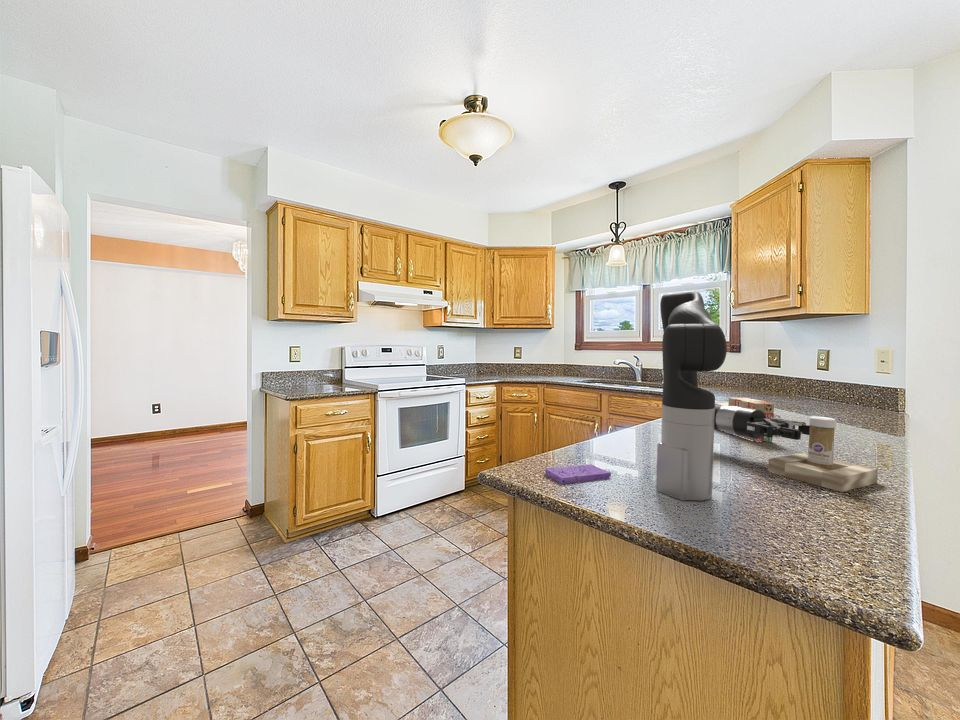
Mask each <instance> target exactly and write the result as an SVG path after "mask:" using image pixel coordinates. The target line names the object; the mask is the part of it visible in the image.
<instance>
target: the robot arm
mask: <svg viewBox="0 0 960 720" xmlns="http://www.w3.org/2000/svg"><path fill="white" fill-rule="evenodd" d="M660 317H661V324H662V330H663V335H662V342H661V343H662V345H661V346H662V349H661V350H662V374H663V375H662V377H663V378H662V379H663V380H662V401H661V402H662V403H661V429H660V433H661V434H660V436H661V437H660V442H659V443H657V448H656V476H655V477H656V481H655V482H656V484H655V487H656V488H655V490H656V491H658V492H661V493H663V494H665V495H666V496H667V495H668V496H671V497H673V498H675V499H677V500H681V501H698V502H699V501H708V500H711V498H712V497H713V474H714V473H713V467H714V444H715V443H714V442H715V438H714V437H715V430H717V431H719V430H720V431H719V432H722V431H724V432H723V433H725V432H727V433H726V434H728V433H730V434H729V435H731V434H735V435H739V436H744V437H749V438H753V439H758V438H760V437H761V436H766V437H769V438H771V437H772V438H784V439H789V440H795V441H799V440H801V437H802V435H807V436H809V433H810V426H809V425H808V424H807V423H806V422H805V421H796V420H789V419H783V418H776V417H774V418H770V419H767V418H766V415H765V414H764V412H763V411H761V410H758V409H751V408H744V407H737V406H724V405H717V404H715V403H716V395H715V394H714V393H713V392H711V391H709V390H707V389H704V388H702V387H699V386H698V385H699V380H698V372H703V373H704V372H707V373H708V372H714V371H717V370H718V369H720V368H721V367H722V365H723V364H724V363H725V360H726V357H727V351H728V346H727V344H728V343H727V339H726V336H725V333H724V330H723V329H722V328H721V326H720V325H718V324H717V323H716V322H714V321H713V320H712V317H711V316H710V314H709V312H708V311H707V309H706V307H705V302H704V299H703V296H702V295H701V293H700V292H699V291H696V290H687V291H685V290H684V291H677V292H672V293H666V294H662V296H661V299H660ZM797 426H798V427H797ZM796 427H797V428H796Z"/></svg>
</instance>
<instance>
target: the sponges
mask: <svg viewBox="0 0 960 720" xmlns="http://www.w3.org/2000/svg"><path fill="white" fill-rule="evenodd" d="M544 472H545V476H548V477H549V478H551V479H552V480H554V481H556V482H558V483H559V484H562V485H563V484H570V483H571V484H572V483H580V482H581V483H582V482H587V481H588V482H589V481H597V480H604V479H605V480H606V479H610V477H612V472H611V471H608V470H605V469H603V468H601V467H597V466H596V465H594V464H589V463H588V464H585V465H584V464H580V465H575V466H574V465H570V466H558V467H557V466H556V467H545V471H544Z"/></svg>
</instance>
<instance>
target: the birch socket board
mask: <svg viewBox="0 0 960 720" xmlns="http://www.w3.org/2000/svg"><path fill="white" fill-rule="evenodd" d="M767 464H768V465H767V472H768V471H769V472H768V473H771V472H772V474H775V473H777V474H776V475H778V474H780V475H779V476H782V475H784V476H783V477H786V476H787V478H790V479H793V480H797V481H801V482H804V483H807V484H808V483H809V484H811V485H815V486H819V487H823V488H826V489H829V490H833V491H838V492H840V493H844V492H847V491H851V490H854V489H855V490H856V489H858V488H859V489H860V488H862V487H866V486H867V487H868V486H871V485H874V484H877V483H878V476H879V475H878V473H879V471H878V470H879V469H877V468H873V467H870V466H866V465H861V464H857V463H851V462H846V461H842V460H839V459H837V460H836V459H833V467H832V470H828V469H824V468H820V467H816V466H812V465H808V453H806V452H803V453H795V454H790V455H784V456H779V457H773V458H772V457H771V458H768V463H767Z"/></svg>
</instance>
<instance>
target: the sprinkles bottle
mask: <svg viewBox="0 0 960 720" xmlns="http://www.w3.org/2000/svg"><path fill="white" fill-rule="evenodd" d="M808 424H809V426H810V433H809V435H808V436H809V437H808V447H807V454H808V465H812V466H816V467H820V468H824V469H828V470H832V467H833V460H834V454H835V453H834V449H835V429H836V426H837V420H836V419H835V418H832V417H827V416H820V415H819V416H818V415H812V416H809V418H808Z"/></svg>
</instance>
